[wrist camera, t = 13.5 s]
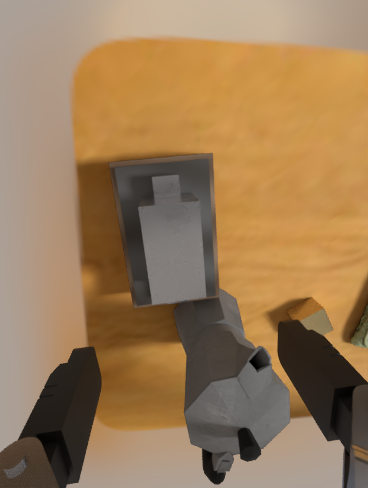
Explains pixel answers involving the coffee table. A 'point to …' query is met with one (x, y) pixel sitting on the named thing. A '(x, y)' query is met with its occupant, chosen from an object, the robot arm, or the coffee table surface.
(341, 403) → the robot arm
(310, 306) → the brass block
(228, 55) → the coffee table surface
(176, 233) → the block
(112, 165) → the stand
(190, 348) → the coffeepot
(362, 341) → the washcloth
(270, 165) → the coffee table surface
